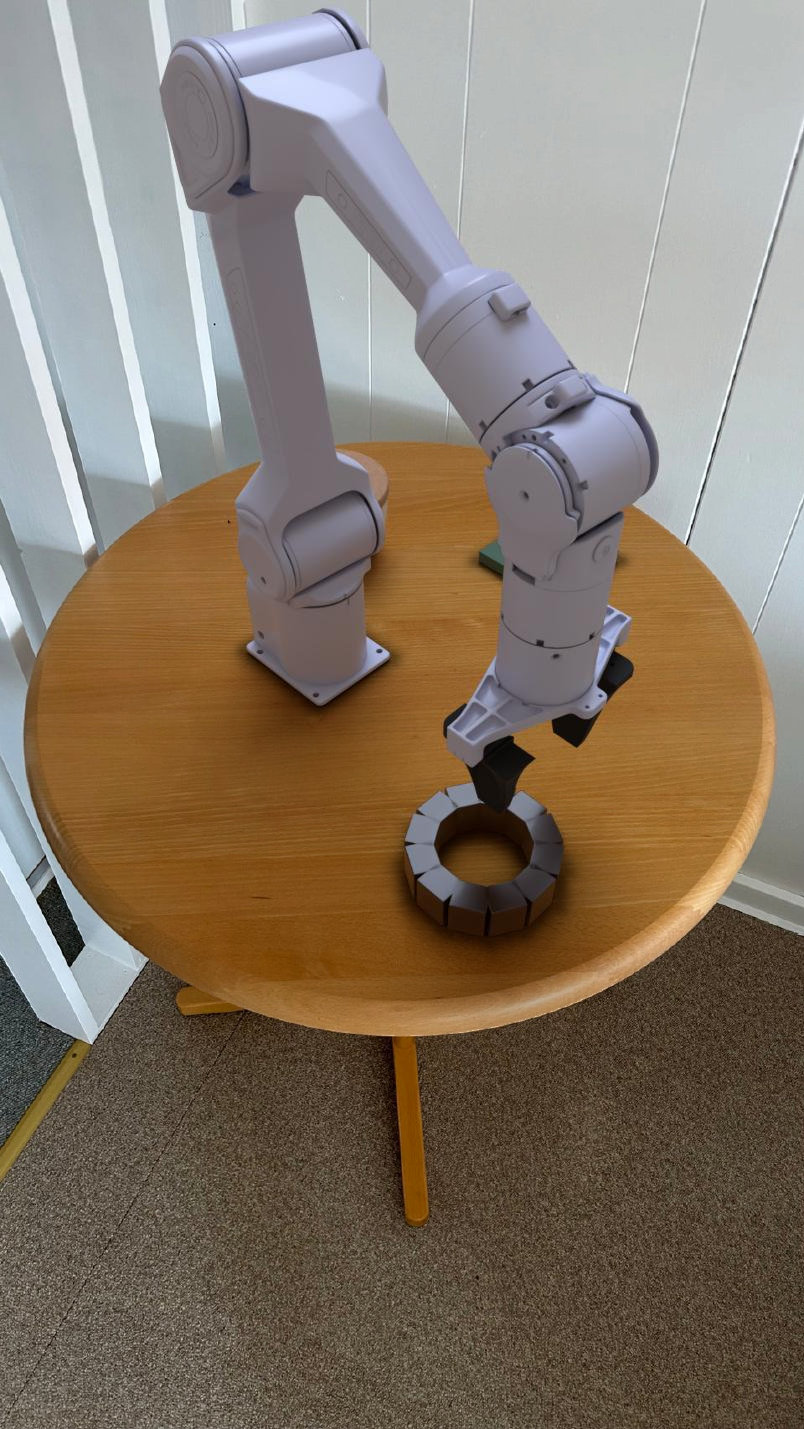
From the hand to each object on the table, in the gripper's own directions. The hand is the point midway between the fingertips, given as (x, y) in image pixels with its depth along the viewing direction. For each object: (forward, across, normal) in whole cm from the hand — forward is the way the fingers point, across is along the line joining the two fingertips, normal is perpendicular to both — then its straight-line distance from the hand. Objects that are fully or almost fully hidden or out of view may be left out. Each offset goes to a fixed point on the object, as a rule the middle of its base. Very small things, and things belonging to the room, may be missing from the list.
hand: (530, 769), depth 63 cm
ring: (+7, -4, 0) cm, 8 cm away
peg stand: (+7, +25, +18) cm, 32 cm away
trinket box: (+7, +12, +33) cm, 36 cm away
